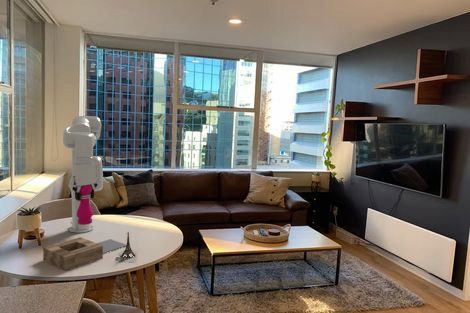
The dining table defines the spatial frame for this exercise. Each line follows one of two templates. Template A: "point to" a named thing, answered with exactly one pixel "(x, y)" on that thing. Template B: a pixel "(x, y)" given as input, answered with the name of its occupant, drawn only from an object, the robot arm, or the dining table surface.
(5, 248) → the dining table surface
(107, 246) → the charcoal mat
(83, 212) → the pepper mill
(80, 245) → the walnut pocket holder
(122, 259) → the eiffel tower figurine
